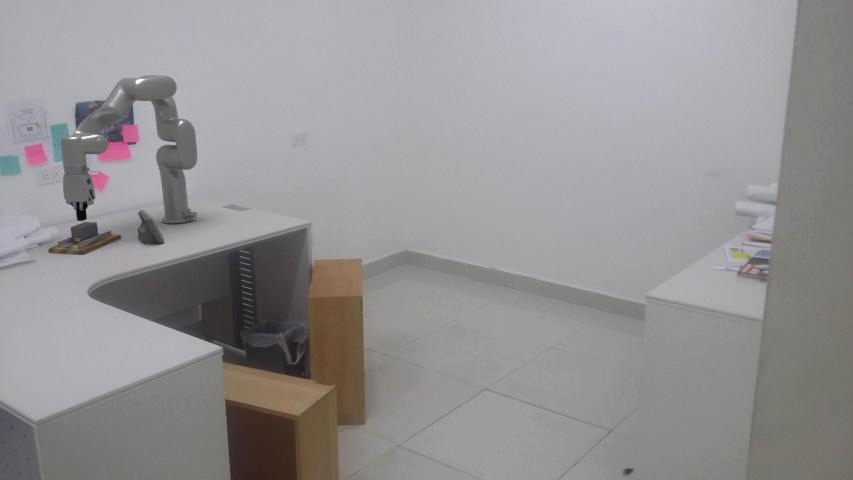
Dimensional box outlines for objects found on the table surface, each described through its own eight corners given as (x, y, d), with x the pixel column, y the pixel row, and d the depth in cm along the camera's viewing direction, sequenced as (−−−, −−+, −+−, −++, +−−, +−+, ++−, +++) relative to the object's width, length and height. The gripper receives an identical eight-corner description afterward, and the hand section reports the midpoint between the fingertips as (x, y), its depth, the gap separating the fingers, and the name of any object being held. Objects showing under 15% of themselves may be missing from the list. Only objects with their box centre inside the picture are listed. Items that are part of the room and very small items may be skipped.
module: (98, 238, 274) (96, 222, 272) (83, 244, 265) (81, 228, 264) (87, 237, 275) (84, 221, 273) (71, 243, 266) (69, 227, 265)
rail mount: (121, 238, 280) (120, 229, 279) (83, 254, 259) (82, 245, 258) (88, 236, 283) (87, 228, 282) (49, 252, 262) (47, 243, 261)
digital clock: (165, 244, 271) (161, 216, 269) (138, 247, 268) (135, 218, 265) (163, 233, 286) (160, 207, 283) (138, 236, 283) (135, 209, 280)
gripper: (100, 169, 265) (106, 218, 270) (64, 168, 268) (71, 217, 273) (87, 172, 258) (93, 223, 263) (50, 171, 261) (57, 221, 266)
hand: (82, 220), depth 268 cm, fingers closed
